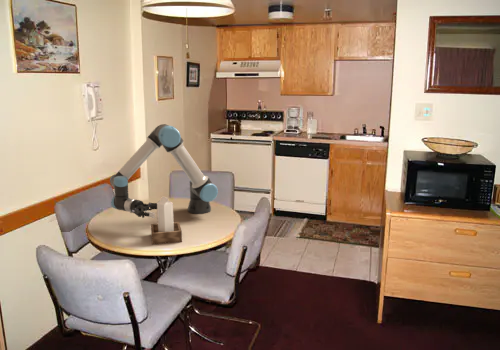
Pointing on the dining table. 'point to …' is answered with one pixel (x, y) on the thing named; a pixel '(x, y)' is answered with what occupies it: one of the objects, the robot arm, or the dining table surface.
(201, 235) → the dining table surface
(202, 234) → the dining table surface
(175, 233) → the box
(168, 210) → the milk
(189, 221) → the dining table surface
